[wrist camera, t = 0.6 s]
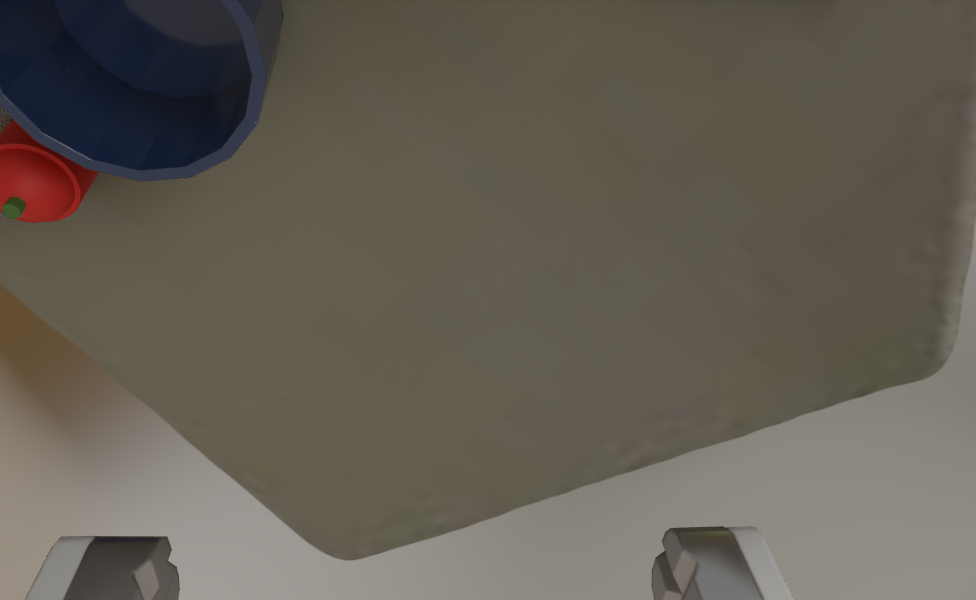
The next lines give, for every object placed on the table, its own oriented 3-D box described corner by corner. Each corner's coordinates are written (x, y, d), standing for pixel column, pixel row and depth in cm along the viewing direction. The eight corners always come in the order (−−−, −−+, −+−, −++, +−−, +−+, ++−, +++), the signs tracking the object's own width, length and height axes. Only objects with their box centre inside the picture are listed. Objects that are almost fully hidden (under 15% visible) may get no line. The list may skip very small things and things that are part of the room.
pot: (-13, -129, 36) (-109, -85, 28) (250, -142, 37) (221, -103, 29) (92, 111, 44) (39, 190, 37) (302, 95, 45) (289, 169, 38)
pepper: (-10, 112, 44) (-67, 174, 38) (81, 105, 44) (38, 165, 38) (31, 187, 47) (-16, 254, 42) (115, 180, 48) (80, 245, 42)
